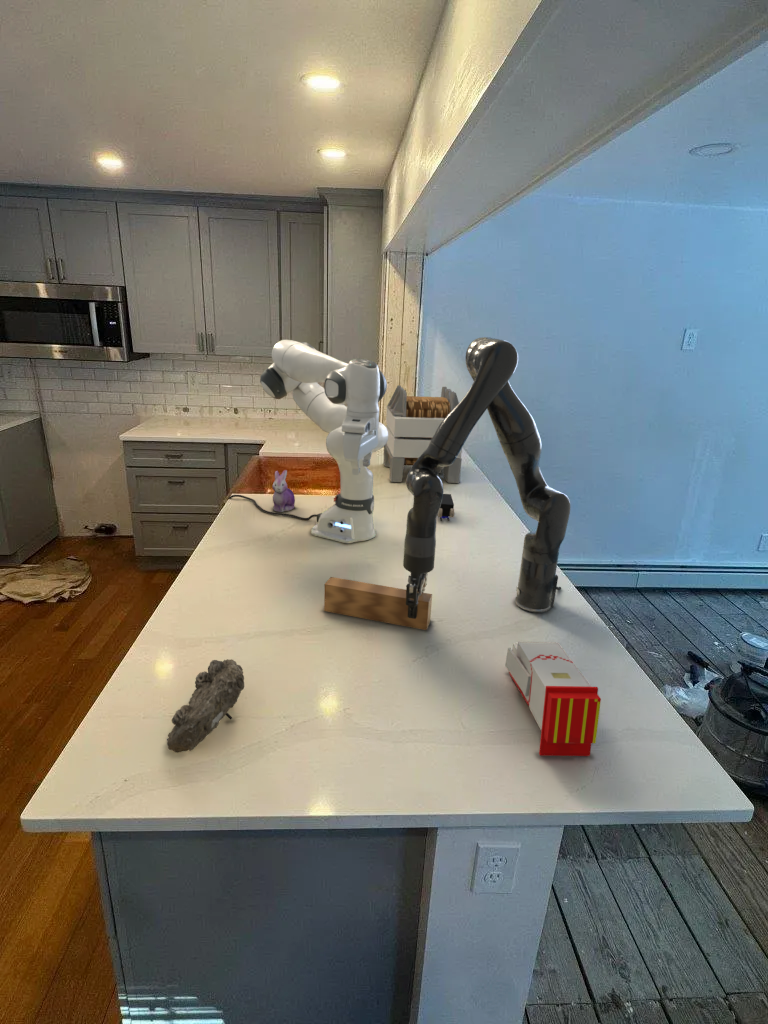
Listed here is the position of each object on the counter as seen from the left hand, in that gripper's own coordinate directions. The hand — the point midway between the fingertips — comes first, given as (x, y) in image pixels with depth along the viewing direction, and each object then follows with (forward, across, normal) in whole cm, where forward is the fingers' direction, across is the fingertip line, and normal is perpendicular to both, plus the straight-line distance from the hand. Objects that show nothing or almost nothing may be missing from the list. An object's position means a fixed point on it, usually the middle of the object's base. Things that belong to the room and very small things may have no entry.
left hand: (361, 470), depth 159 cm
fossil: (+32, +69, -7) cm, 76 cm away
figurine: (+31, -43, -44) cm, 69 cm away
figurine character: (+32, -58, +16) cm, 68 cm away
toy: (+32, +46, +54) cm, 78 cm away
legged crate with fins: (+31, -114, -6) cm, 119 cm away
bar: (+32, +22, +12) cm, 41 cm away
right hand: (+28, +23, +22) cm, 43 cm away
